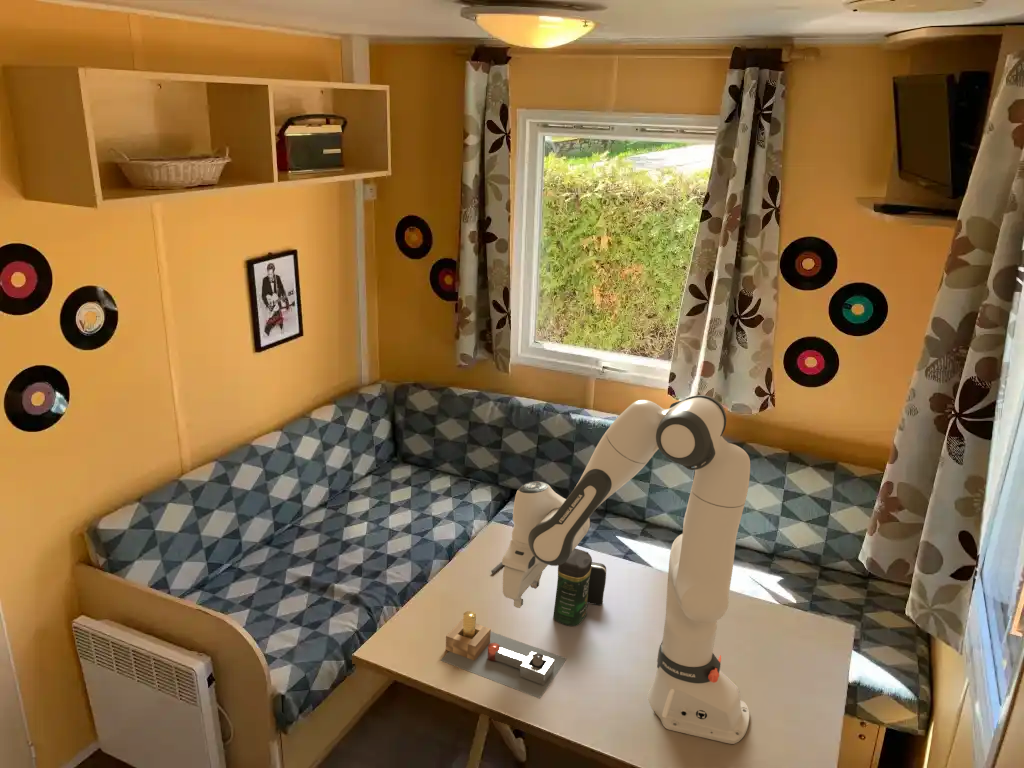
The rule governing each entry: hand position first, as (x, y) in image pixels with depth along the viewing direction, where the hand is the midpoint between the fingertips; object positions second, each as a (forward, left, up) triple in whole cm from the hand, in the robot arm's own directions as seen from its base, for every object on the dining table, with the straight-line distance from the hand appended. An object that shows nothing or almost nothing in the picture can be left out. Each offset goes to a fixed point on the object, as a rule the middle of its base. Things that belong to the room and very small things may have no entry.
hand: (526, 596), depth 192 cm
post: (-8, +9, -13) cm, 18 cm away
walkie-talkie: (+17, -34, -15) cm, 40 cm away
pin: (+11, +8, -13) cm, 19 cm away
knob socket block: (-3, +9, -13) cm, 16 cm away
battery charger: (-8, -27, -14) cm, 31 cm away
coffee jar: (-6, -17, -14) cm, 23 cm away
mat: (+1, +8, -14) cm, 16 cm away
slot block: (+11, +8, -13) cm, 19 cm away
